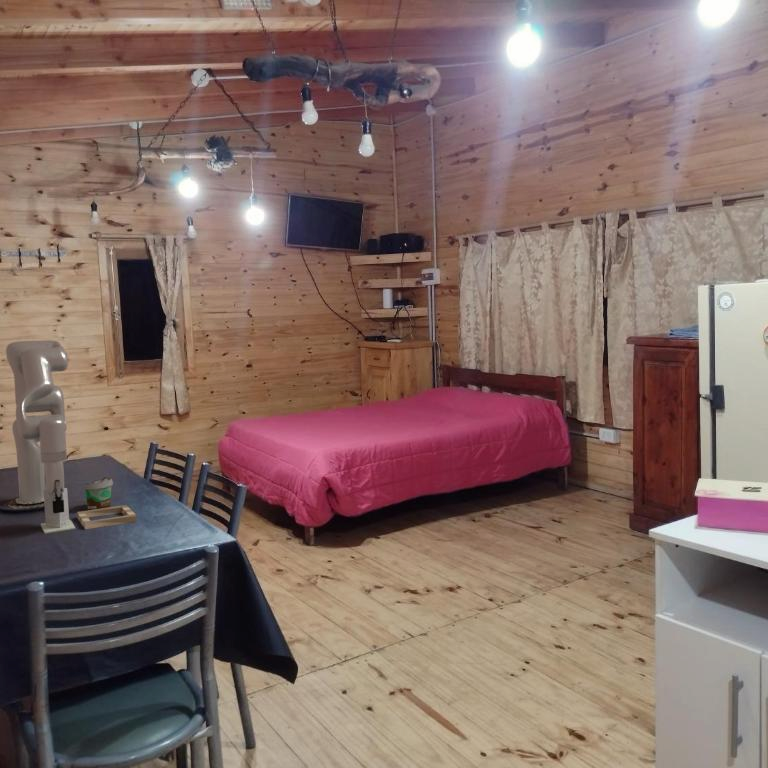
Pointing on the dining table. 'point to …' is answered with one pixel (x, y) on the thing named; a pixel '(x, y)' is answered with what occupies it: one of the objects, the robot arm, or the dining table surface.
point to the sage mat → (56, 529)
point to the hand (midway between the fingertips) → (56, 509)
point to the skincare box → (56, 518)
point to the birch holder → (87, 524)
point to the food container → (99, 493)
